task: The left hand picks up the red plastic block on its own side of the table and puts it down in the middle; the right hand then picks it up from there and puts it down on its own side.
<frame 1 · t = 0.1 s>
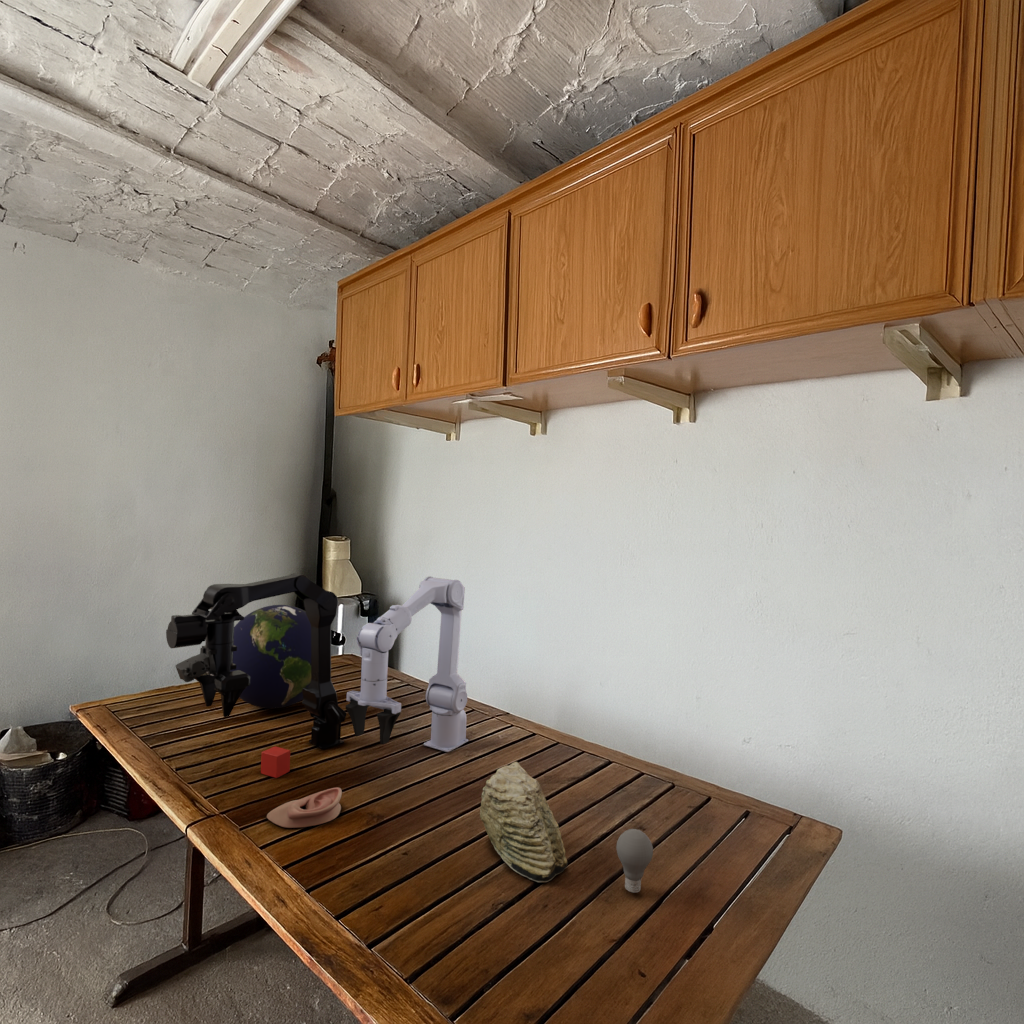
left hand: (217, 711, 141), 15 cm above the table, tool pointing down, fingers open, 9 cm apart
right hand: (371, 738, 141), 10 cm above the table, tool pointing down, fingers open, 7 cm apart
light bulb: (632, 891, 106), on the table
block: (275, 772, 144), on the table
fossil: (519, 856, 115), on the table
anatomical model: (304, 815, 126), on the table
globe: (275, 706, 188), on the table
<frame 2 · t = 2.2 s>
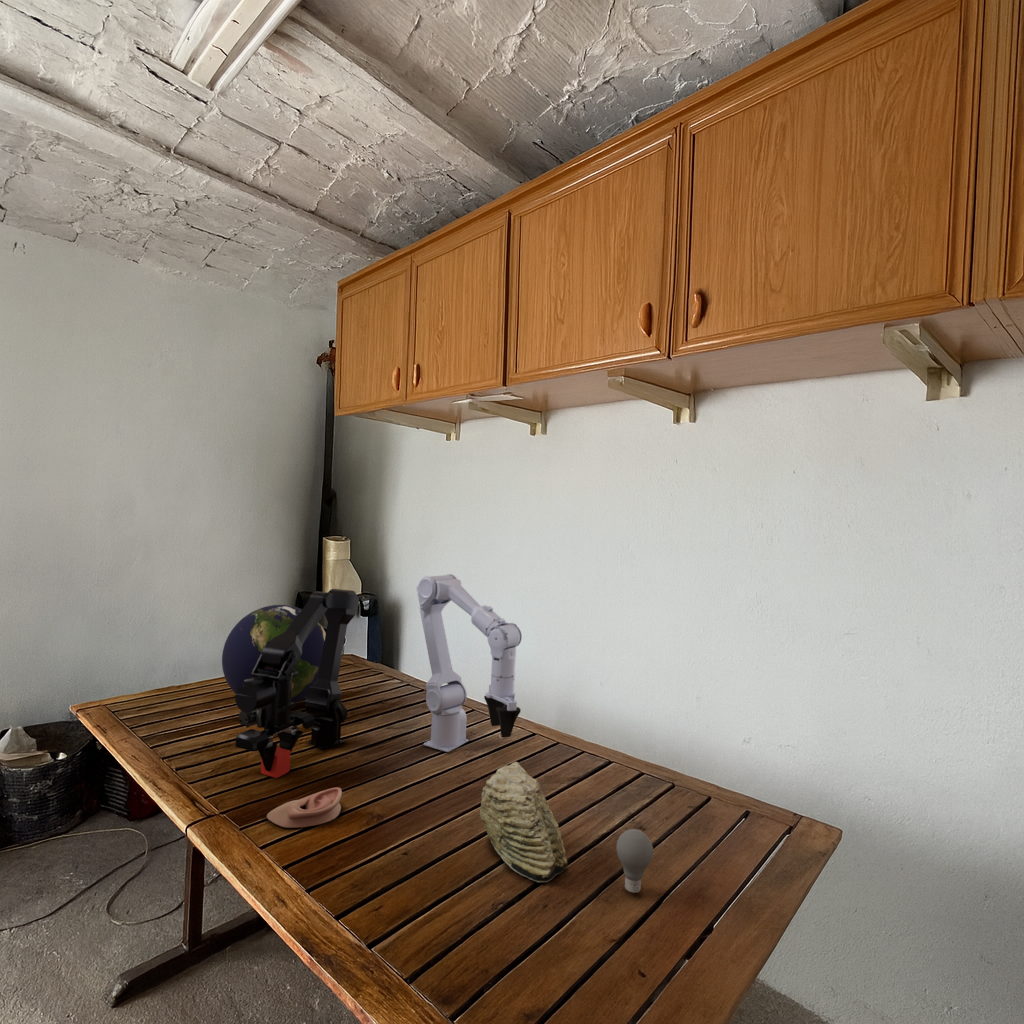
left hand: (275, 767, 144), 1 cm above the table, tool pointing down, fingers closed on block, 4 cm apart
right hand: (500, 730, 153), 9 cm above the table, tool pointing down, fingers open, 7 cm apart
block: (275, 772, 144), on the table, touching left hand
everything else where it was.
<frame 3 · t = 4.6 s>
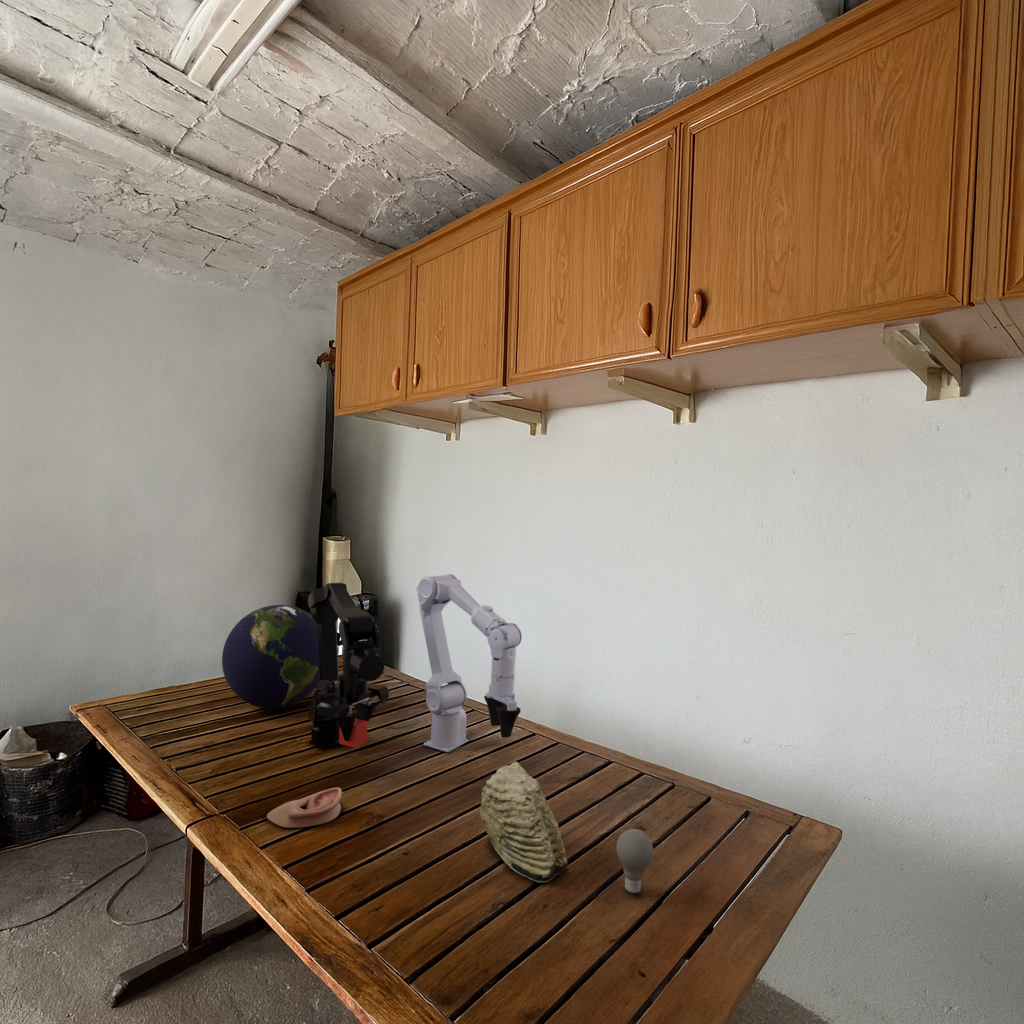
left hand: (353, 737, 145), 8 cm above the table, tool pointing down, fingers closed on block, 4 cm apart
right hand: (500, 730, 153), 9 cm above the table, tool pointing down, fingers open, 7 cm apart
block: (352, 742, 145), point 7 cm above the table, touching left hand
everything else where it was.
when the left hand's fingers open (2 cm above the table, at t = 6.9 s): block stays where it is, on the table.
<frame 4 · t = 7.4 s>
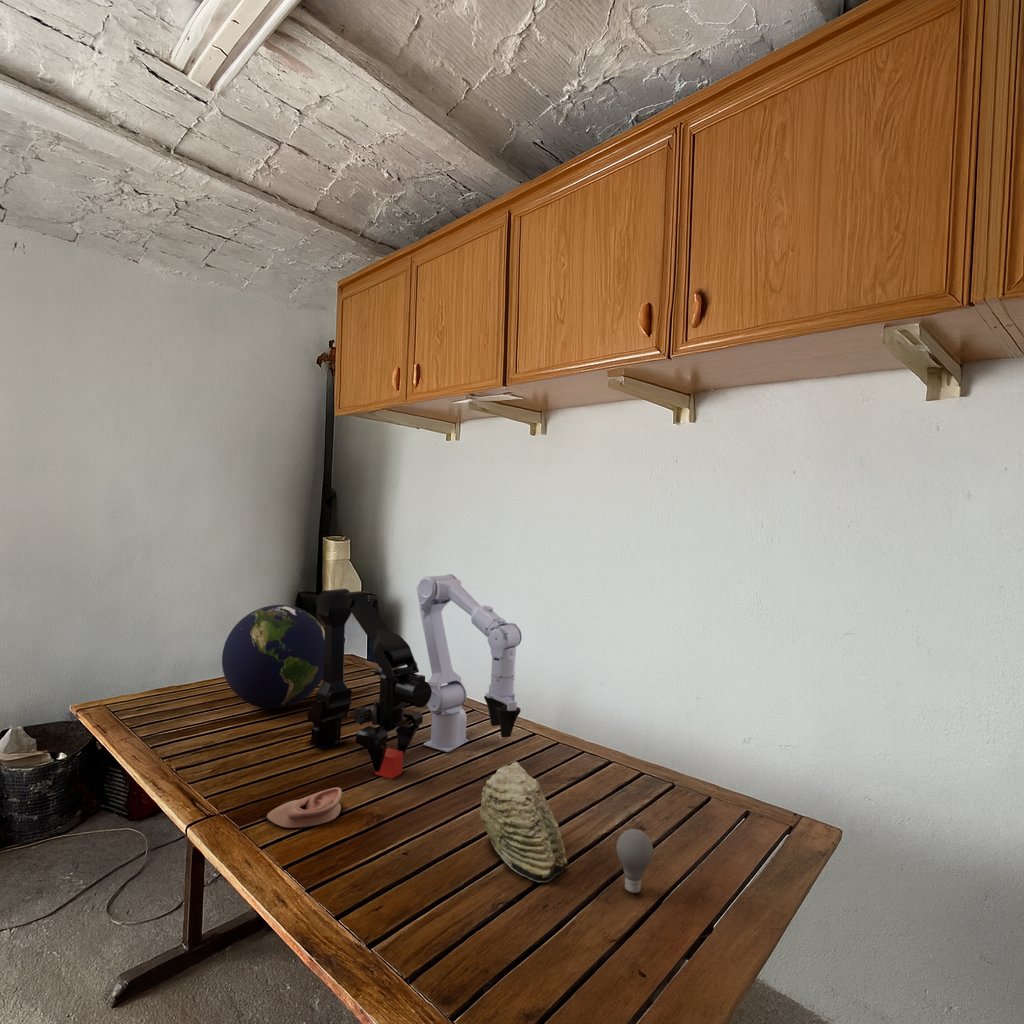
left hand: (389, 763, 146), 2 cm above the table, tool pointing down, fingers open, 9 cm apart
right hand: (500, 730, 153), 9 cm above the table, tool pointing down, fingers open, 7 cm apart
block: (388, 773, 146), on the table
everything else where it was.
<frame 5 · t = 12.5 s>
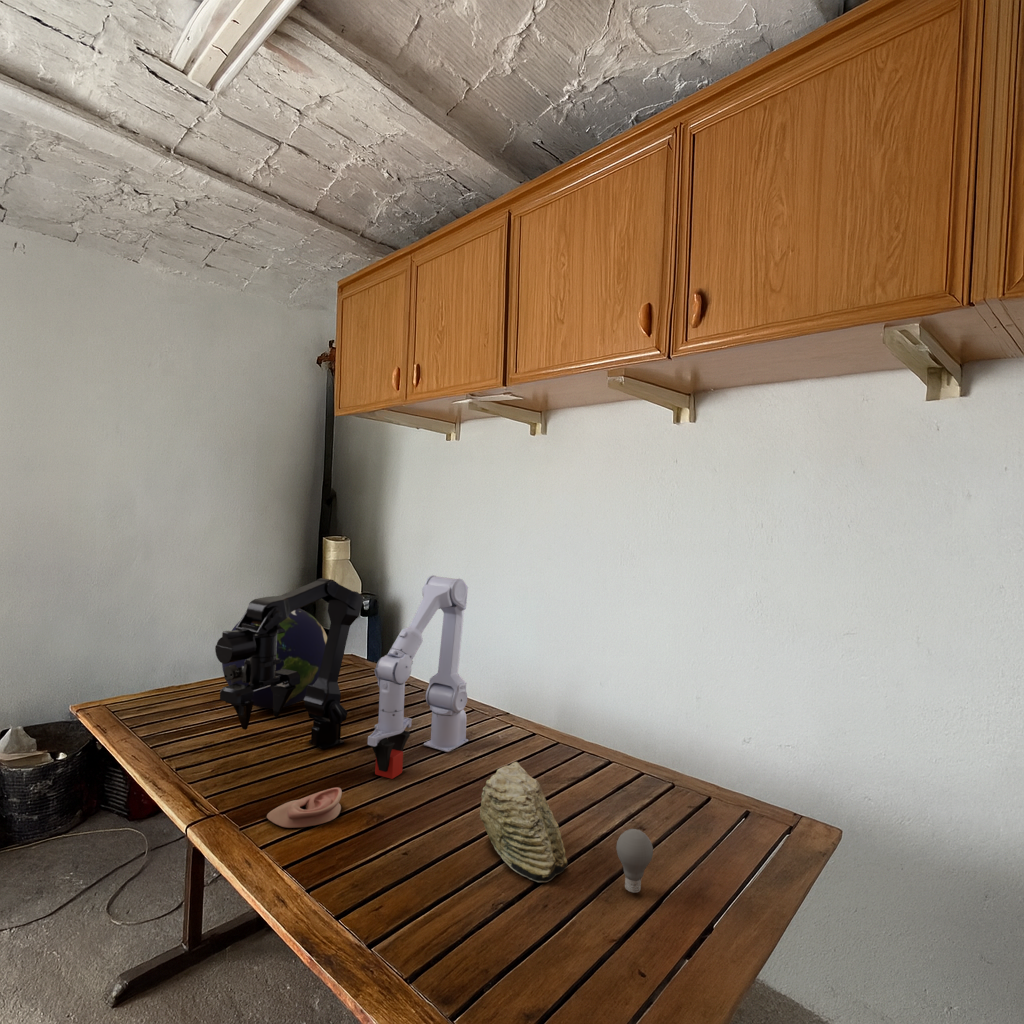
left hand: (260, 722, 145), 11 cm above the table, tool pointing down, fingers open, 9 cm apart
right hand: (389, 766, 146), 2 cm above the table, tool pointing down, fingers closed on block, 4 cm apart
block: (388, 773, 146), on the table, touching right hand
everything else where it was.
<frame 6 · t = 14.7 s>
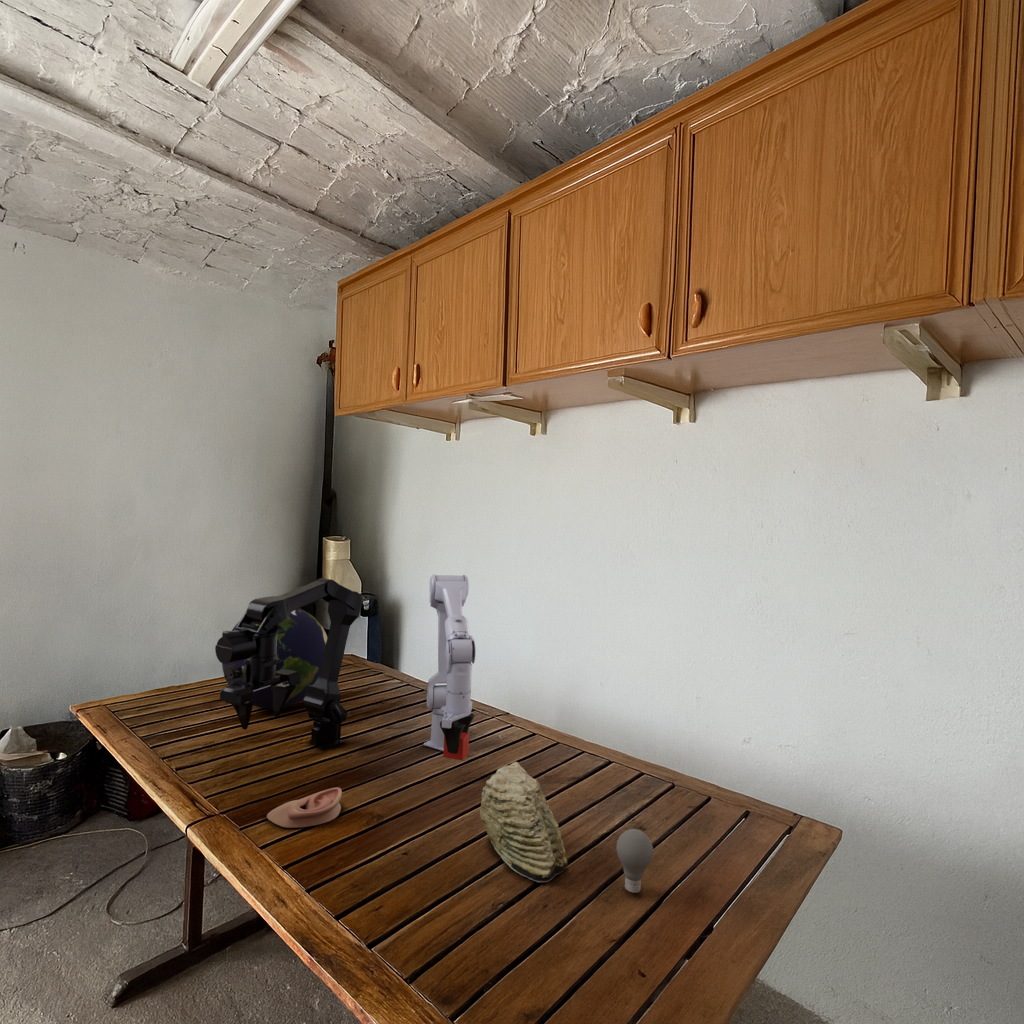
left hand: (260, 722, 145), 11 cm above the table, tool pointing down, fingers open, 9 cm apart
right hand: (456, 748, 147), 6 cm above the table, tool pointing down, fingers closed on block, 4 cm apart
block: (455, 755, 147), point 5 cm above the table, touching right hand
everything else where it was.
when the right hand's fingers open (2 cm above the table, at t = 17.0 s): block stays where it is, on the table.
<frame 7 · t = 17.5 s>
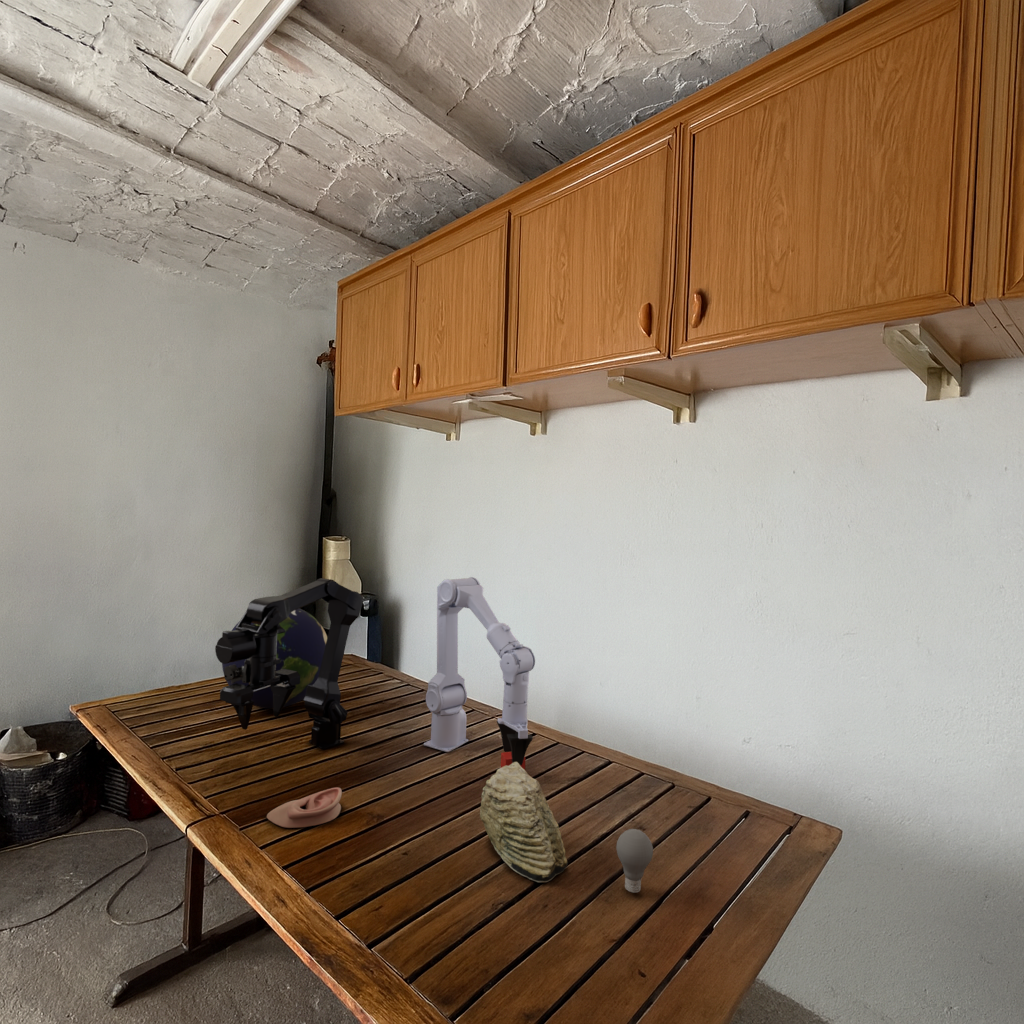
left hand: (260, 722, 145), 11 cm above the table, tool pointing down, fingers open, 9 cm apart
right hand: (512, 757, 148), 4 cm above the table, tool pointing down, fingers open, 7 cm apart
block: (512, 776, 148), on the table
everything else where it was.
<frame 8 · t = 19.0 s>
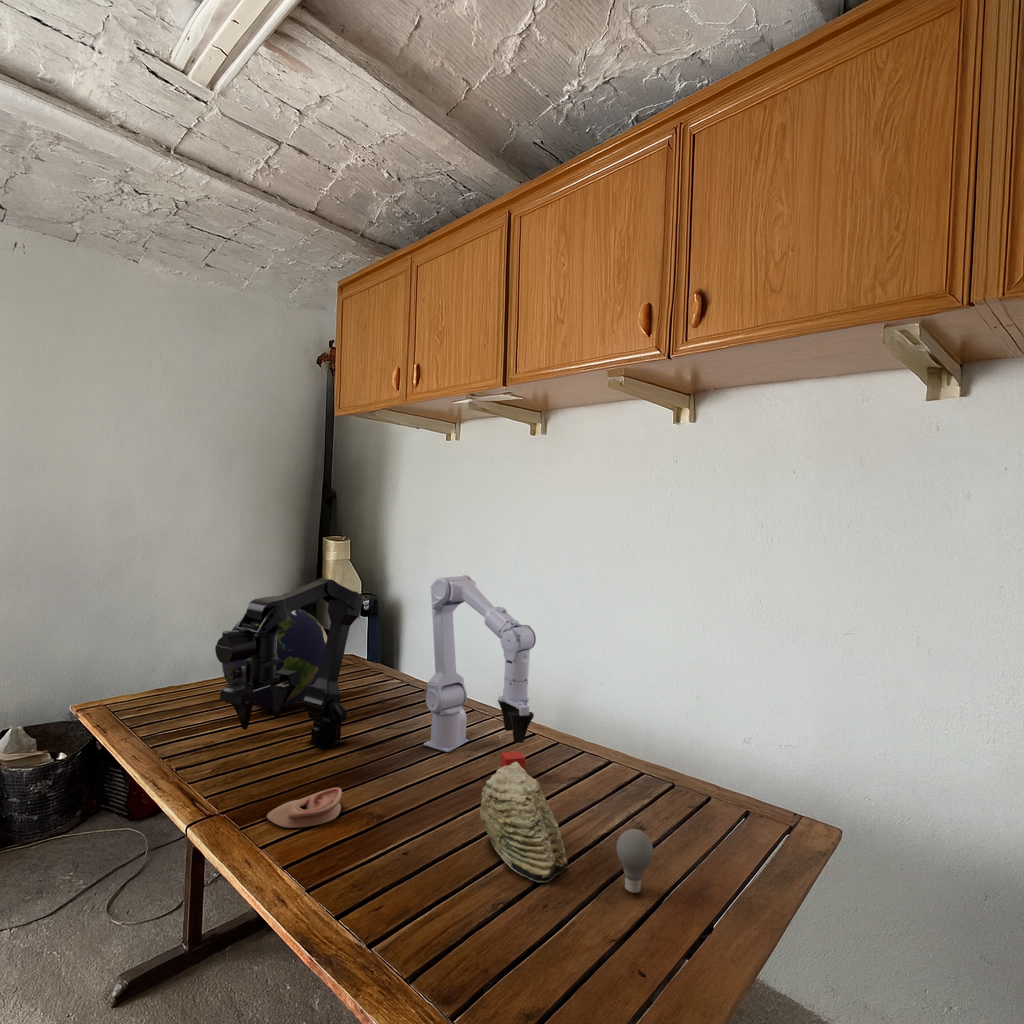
left hand: (260, 722, 145), 11 cm above the table, tool pointing down, fingers open, 9 cm apart
right hand: (514, 736, 148), 9 cm above the table, tool pointing down, fingers open, 7 cm apart
nothing on the table moved.
at the end: block inside the target area (0.0 cm from its centre), on the table; block tilted 0°; the two hands never held the block at the same time; the left hand is holding nothing; the right hand is holding nothing; block at rest at the end (0.0 cm/s) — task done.
